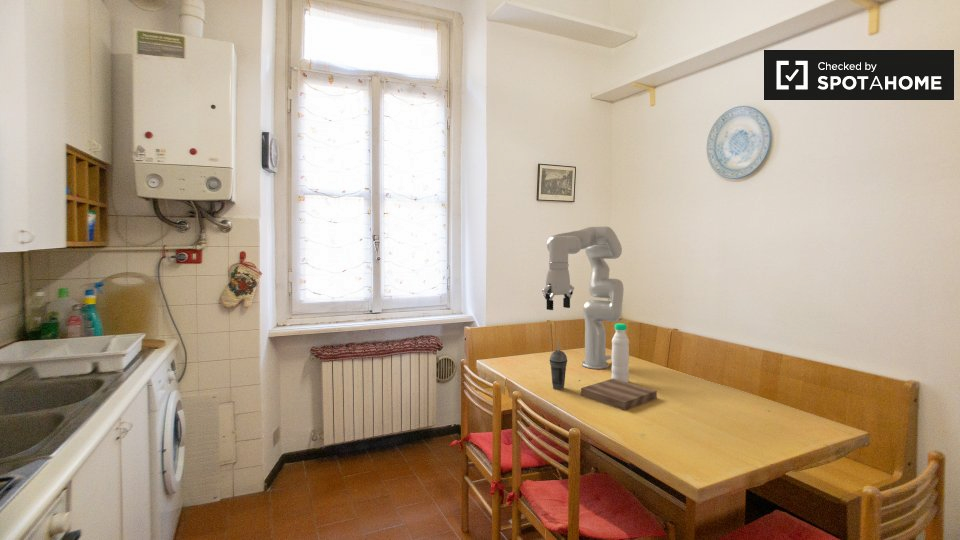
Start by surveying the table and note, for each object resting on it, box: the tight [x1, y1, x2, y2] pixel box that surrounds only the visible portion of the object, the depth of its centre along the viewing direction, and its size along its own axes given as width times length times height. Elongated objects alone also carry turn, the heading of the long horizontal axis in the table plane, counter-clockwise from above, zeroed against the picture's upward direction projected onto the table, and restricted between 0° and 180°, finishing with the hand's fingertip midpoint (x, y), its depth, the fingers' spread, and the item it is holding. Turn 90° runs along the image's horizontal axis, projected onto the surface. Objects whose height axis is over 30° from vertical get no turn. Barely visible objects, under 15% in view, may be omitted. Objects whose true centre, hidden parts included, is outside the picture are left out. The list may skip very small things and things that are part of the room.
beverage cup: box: [549, 340, 568, 391], centre depth 189 cm, size 7×7×20 cm
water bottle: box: [610, 322, 630, 383], centre depth 196 cm, size 7×7×25 cm
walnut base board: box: [580, 378, 658, 411], centre depth 178 cm, size 20×20×3 cm
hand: (558, 308), depth 188 cm, fingers open, 9 cm apart
